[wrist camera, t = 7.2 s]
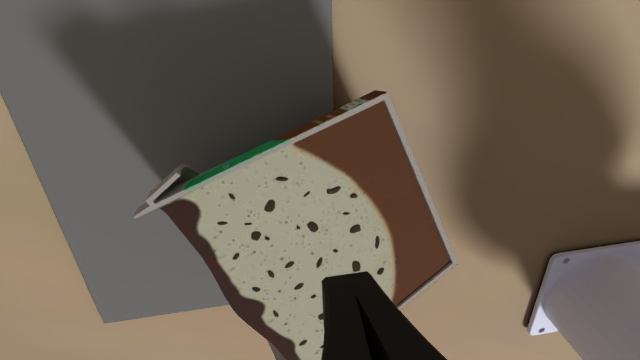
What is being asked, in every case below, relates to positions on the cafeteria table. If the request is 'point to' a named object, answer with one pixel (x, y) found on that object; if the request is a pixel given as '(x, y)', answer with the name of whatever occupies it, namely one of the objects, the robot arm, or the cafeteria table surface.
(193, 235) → the food container
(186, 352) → the cafeteria table surface
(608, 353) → the robot arm
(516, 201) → the cafeteria table surface
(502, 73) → the cafeteria table surface
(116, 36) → the mat
